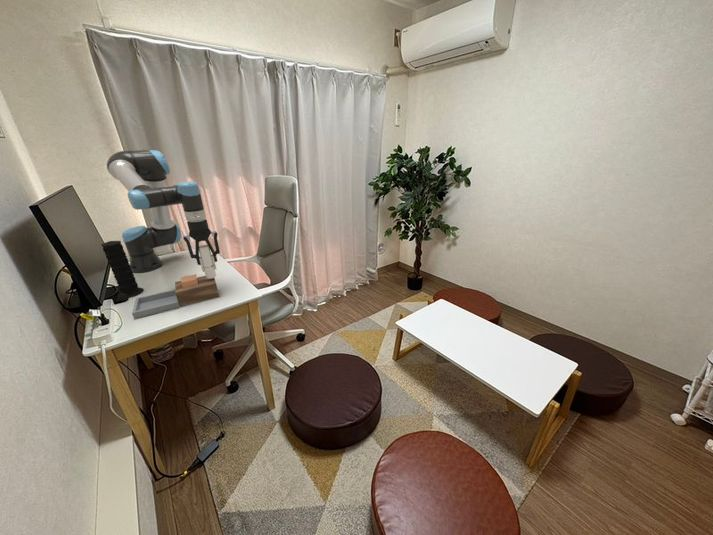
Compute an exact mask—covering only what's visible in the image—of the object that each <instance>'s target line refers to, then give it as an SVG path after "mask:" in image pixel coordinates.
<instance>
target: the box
mask: <svg viewBox="0 0 713 535" xmlns="http://www.w3.org/2000/svg"><path fill="white" fill-rule="evenodd" d="M180 308H181V307H180V306H179V303H178V300H177V297H176V294H175V289H171V290H167V291H162V292H158V293H153V294H149V295H148V294H147V295H145V296H140V297H136V298H135V301H134V305H133V308H132V310H131V314H132V317H133V319H134V320H137V319H142V318H146V317H149V316H153V315H154V316H155V315H156V314H161V313H165V312H169V311H170V312H171V311H173V310H177V309H180Z"/></svg>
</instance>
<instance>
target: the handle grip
mask: <svg viewBox="0 0 713 535" xmlns="http://www.w3.org/2000/svg"><path fill="white" fill-rule="evenodd" d="M100 246H101V247H102V251H103V252H104V255H105V257H106V259H107V262H108V265H109V268H111V272H112V275H113V277H114V278H115V281H116V284H117V287H119V288H118V289H119V291H120V293H118V295H117V298H118V299H121V300H122V299H124V300H125V299H129V298H134V297H137V296H138V295H141V294H143V293H144V290H145V289H144V288H142V287H139V286H138V283H137V281H136V277H135V275H134V272H132V269H131V266H130V261H129V258H128V257H127V254H126V252H125V249H124V246H123V244H122V241H121V240H109V241H106V242H104V243H102V244H100ZM121 293H122V294H126V295H122V294H121Z"/></svg>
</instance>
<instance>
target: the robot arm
mask: <svg viewBox="0 0 713 535" xmlns="http://www.w3.org/2000/svg"><path fill="white" fill-rule="evenodd" d="M106 168H107V171H108V173H109V174H110V175H111V176H112V177H113V178H114V179H116V180H118V181H119V182H120V183H121V184H122V185H123V187H124V188H125V189H126V190H127V198H128V202H129V203H130V205H131V207H132V209H134V210H149V209H150V212H151V217H152V221H151V223H150V227H146V226H145V225H139V226H138V225H137V226H134V227H131V228H128V229H125V230H123V231H122V233H121V237H122V242H123V243H124V245H125V249H126V251H127V253H128V256H129V265H130V266H131V269H132V272H133V274H134V273H135V274H138V273H140V274H141V273H147V272H151V271H155V270H157V269H159V268H161V267H162V266H163V261H162V260H161V258H160V257H159V256H158V255H157V253H156V252H155V250H154V249H155V248H160V247H164V246H168V245H174V244H176V243H179V242H180V241H181V239H182V238H183V240H184V242H185V243H186V247H187V249H188V252H189V256H190V258H191V259H195V260H196V263H197V265H198V266H201V270H202V272H203V273H205V271H204V267H203V264H202V260H201V256H200V252H199V246H200V242H205V243H206V245H208V247H209V248H210V252H211V256H212V260H213V264H214V268H215V270H217V266H216V262H218V257H217V255H219V254H220V253H221V252H220V246H219V242H218V235H219V234H218V231H216V230H215V231H212V230H211V229H210V227H209V224H208V223H209V222H208V220H207V215H206V211H205V207H204V204H203V203H204V202H203V199H202V194H201V190H200V187H199V183H197V182H196V181H185V182H184V181H183V182H179V183H177V184H174V185H171V186H166V185H165V181H166V180H167V175H169V174H170V173H171V172H170V171H171V170H170V167H169V163H168V162H167V159H166V158H165V156H164V155H163V153H162V152H161V151H159V150H151V149H148V150H146V149H142V150H120V151H118V152H115V153H113V154H112V155H111V156H110V157H109V158H108V160H107V162H106ZM175 205H182V208H183V213H184V217H185V219H186V221H187V222H186V224H187V226H188V234H186V235H183V237H182V233H181V229H180V226H179V225H178V224H177V223H176V222H175V221H174V220H173V219H172V217H171V212H170V207H169V206H175ZM210 236H212V237H213V240H214V241H213V242H214V246H215V247H213V246H212V244H211V242H210V240H209V237H210ZM190 238H191V239H193V240H194V242H195V248H194V249H195V254H194V251H193V249H192V245H191V242H190V240H191V239H190ZM214 248H215V249H214Z"/></svg>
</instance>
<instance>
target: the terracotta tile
mask: <svg viewBox="0 0 713 535" xmlns="http://www.w3.org/2000/svg"><path fill="white" fill-rule="evenodd" d="M197 277H198V276H197V274H196V273H195V274H190V275H185V276H181V277H180V281H181V283H182V286H183V288H187V287H191V286H196V285H198V279H197Z"/></svg>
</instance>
